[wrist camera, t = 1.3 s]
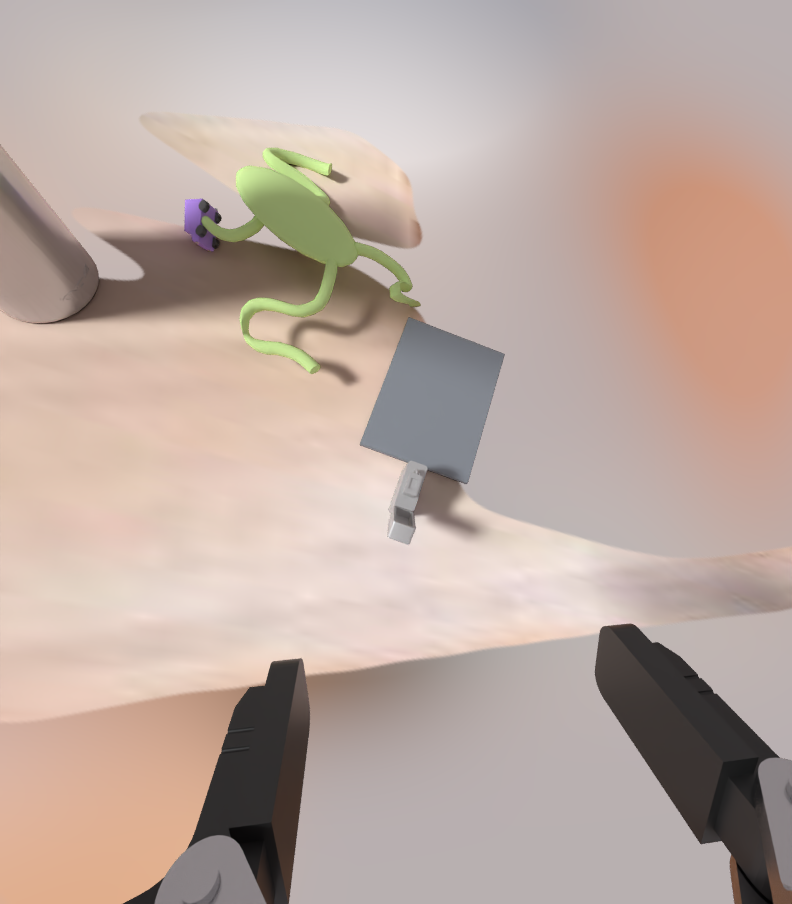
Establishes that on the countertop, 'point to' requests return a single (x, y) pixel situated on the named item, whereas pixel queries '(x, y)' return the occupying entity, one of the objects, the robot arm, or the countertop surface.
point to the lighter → (405, 502)
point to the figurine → (290, 237)
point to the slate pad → (434, 401)
